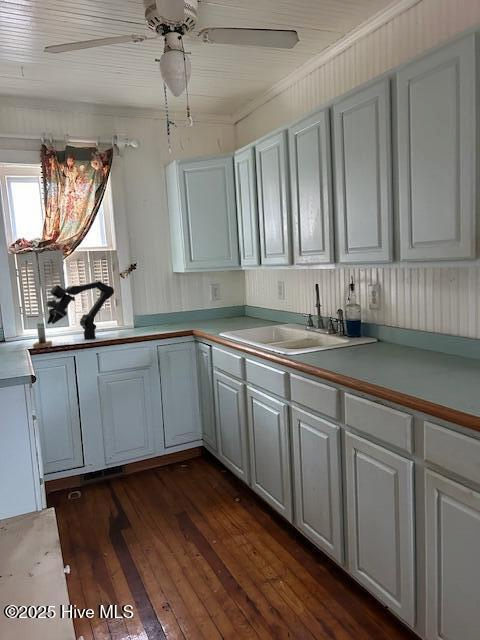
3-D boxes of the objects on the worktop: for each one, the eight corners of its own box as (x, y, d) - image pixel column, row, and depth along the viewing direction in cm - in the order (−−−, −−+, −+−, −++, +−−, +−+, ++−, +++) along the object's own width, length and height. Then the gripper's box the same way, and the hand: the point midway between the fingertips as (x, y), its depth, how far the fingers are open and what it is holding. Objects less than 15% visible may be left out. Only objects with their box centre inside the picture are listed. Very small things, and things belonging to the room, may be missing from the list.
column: (45, 341, 296) (43, 322, 295) (46, 342, 293) (44, 323, 291) (38, 342, 294) (36, 323, 293) (39, 343, 291) (36, 324, 289)
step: (52, 344, 299) (51, 340, 299) (49, 347, 290) (48, 343, 290) (36, 345, 297) (36, 342, 297) (33, 348, 289) (32, 344, 288)
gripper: (48, 296, 306) (34, 316, 301) (57, 294, 291) (43, 316, 286) (63, 306, 312) (49, 326, 306) (73, 305, 297) (59, 326, 292)
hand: (49, 323), depth 297 cm, fingers open, 9 cm apart
